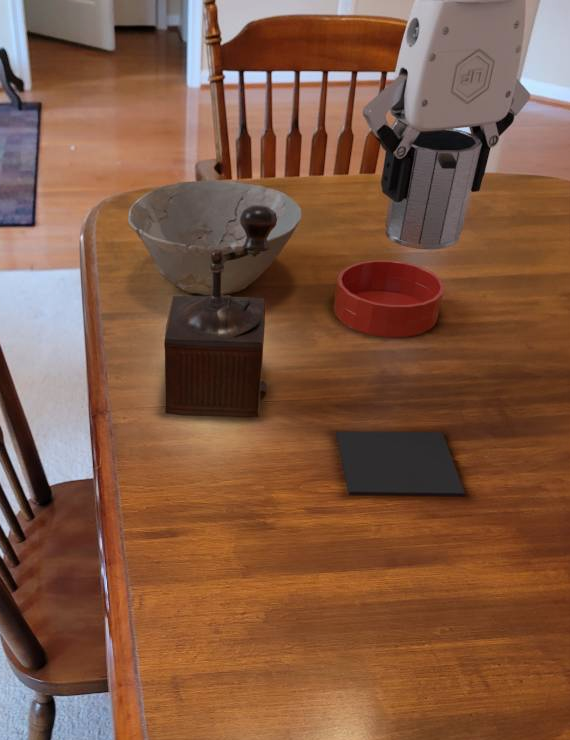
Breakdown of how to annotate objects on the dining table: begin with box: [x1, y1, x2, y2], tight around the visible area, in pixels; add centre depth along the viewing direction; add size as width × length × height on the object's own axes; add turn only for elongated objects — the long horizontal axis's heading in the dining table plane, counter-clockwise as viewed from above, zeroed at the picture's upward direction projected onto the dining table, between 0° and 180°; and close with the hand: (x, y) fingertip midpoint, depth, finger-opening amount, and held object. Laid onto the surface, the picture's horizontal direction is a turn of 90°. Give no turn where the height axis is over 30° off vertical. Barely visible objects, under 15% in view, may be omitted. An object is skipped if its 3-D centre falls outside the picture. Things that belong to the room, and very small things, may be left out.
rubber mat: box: [335, 430, 466, 497], centre depth 84 cm, size 11×10×1 cm
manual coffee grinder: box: [163, 205, 277, 419], centre depth 90 cm, size 16×11×18 cm
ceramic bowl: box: [127, 179, 302, 296], centre depth 111 cm, size 22×23×10 cm
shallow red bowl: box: [333, 259, 446, 338], centre depth 106 cm, size 13×13×4 cm
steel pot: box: [384, 128, 482, 250], centre depth 80 cm, size 7×10×9 cm
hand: (430, 190), depth 81 cm, fingers closed on steel pot, 7 cm apart
